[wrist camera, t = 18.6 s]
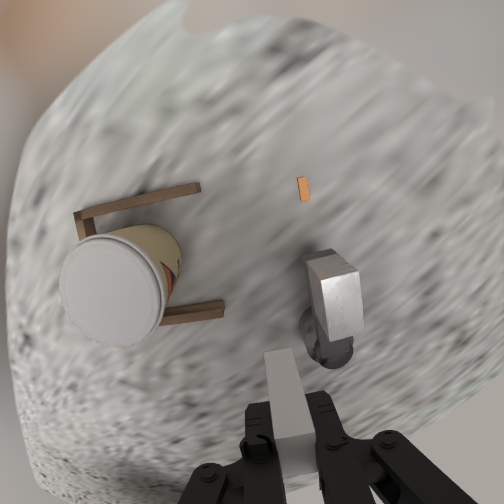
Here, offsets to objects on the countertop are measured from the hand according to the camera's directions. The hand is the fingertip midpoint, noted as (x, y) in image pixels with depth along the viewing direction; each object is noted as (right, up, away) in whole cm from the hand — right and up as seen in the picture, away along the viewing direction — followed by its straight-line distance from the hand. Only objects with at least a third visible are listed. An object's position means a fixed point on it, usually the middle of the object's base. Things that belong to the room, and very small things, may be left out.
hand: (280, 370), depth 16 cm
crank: (+6, +1, +13) cm, 14 cm away
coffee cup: (-13, +6, +17) cm, 22 cm away
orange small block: (+4, +13, +16) cm, 21 cm away
